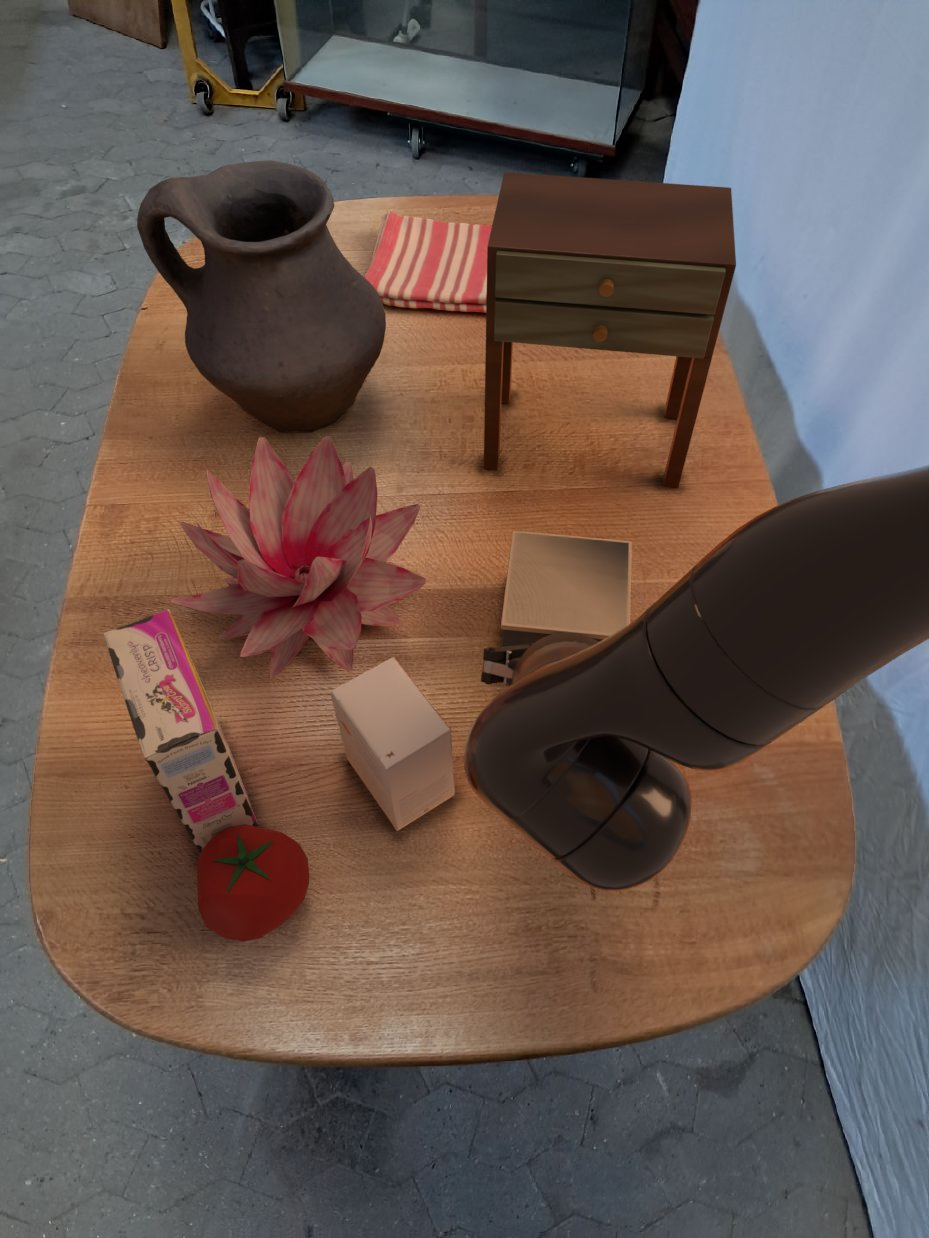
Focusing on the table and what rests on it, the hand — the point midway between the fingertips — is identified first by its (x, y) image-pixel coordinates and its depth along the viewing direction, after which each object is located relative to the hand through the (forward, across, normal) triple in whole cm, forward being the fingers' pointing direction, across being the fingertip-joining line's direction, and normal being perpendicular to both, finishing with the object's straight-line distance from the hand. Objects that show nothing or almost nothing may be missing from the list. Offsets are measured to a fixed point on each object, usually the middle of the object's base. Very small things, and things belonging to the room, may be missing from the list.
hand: (563, 653), depth 75 cm
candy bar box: (-6, +27, +13) cm, 30 cm away
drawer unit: (+25, 0, -19) cm, 31 cm away
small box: (-4, +12, +11) cm, 17 cm away
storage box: (+7, 0, -1) cm, 7 cm away
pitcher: (+26, +32, -20) cm, 46 cm away
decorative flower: (+7, +23, 0) cm, 24 cm away
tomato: (-12, +21, +19) cm, 30 cm away
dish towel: (+45, +16, -39) cm, 62 cm away
